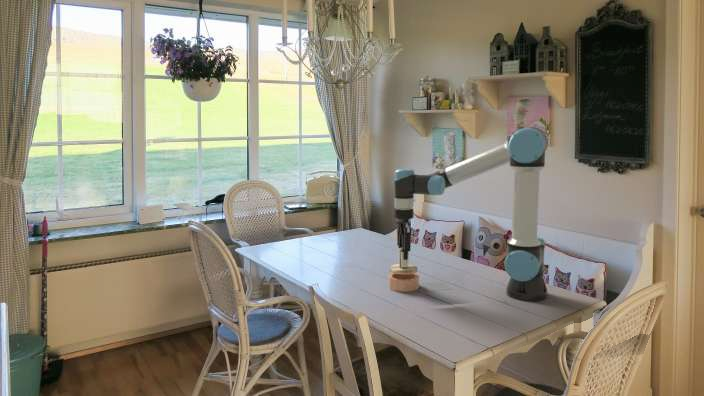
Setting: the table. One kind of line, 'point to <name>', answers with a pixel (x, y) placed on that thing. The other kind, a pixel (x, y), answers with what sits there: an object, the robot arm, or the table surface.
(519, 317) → the table surface
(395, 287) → the bowl
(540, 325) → the table surface
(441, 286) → the mat
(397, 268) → the lid
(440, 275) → the table surface
